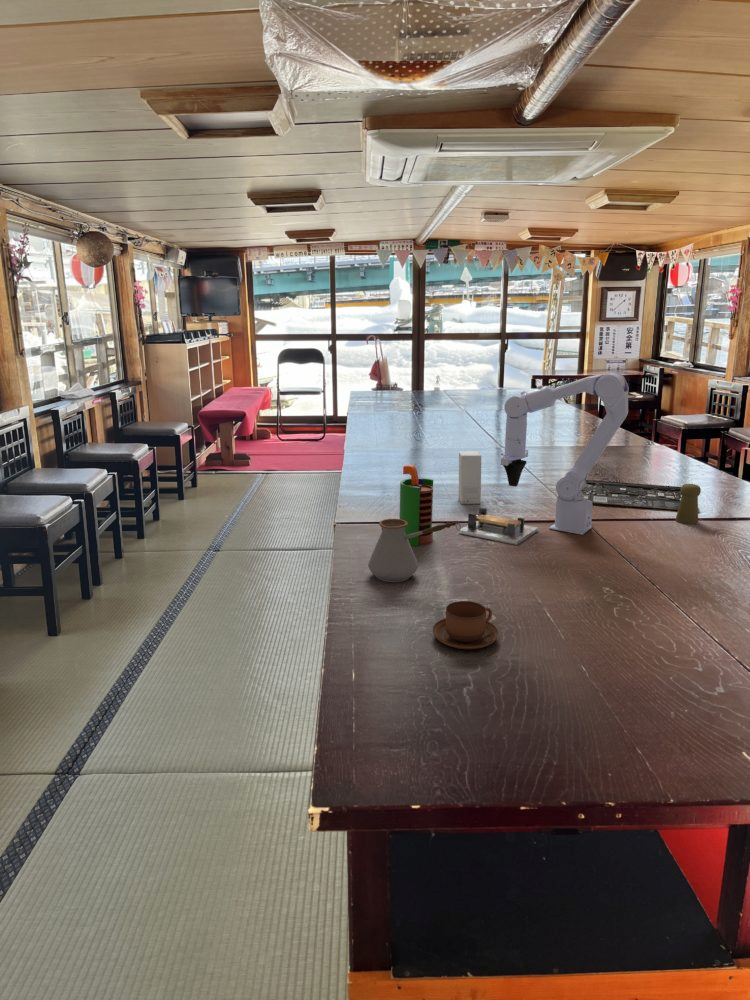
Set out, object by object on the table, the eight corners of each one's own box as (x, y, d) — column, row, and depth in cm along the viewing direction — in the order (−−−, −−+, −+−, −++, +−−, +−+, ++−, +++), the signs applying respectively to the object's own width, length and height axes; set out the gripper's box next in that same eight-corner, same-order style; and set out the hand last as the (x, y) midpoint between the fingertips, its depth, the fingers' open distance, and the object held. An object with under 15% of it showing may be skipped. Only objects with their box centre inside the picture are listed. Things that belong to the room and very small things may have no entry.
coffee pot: (359, 581, 154) (359, 517, 150) (380, 564, 164) (380, 504, 160) (450, 596, 145) (452, 529, 141) (466, 577, 155) (468, 514, 151)
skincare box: (480, 504, 214) (482, 455, 209) (459, 504, 214) (461, 455, 210) (477, 497, 222) (479, 450, 218) (457, 497, 222) (458, 450, 218)
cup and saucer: (455, 619, 135) (456, 590, 133) (509, 637, 127) (511, 607, 126) (419, 642, 126) (420, 611, 124) (476, 662, 118) (477, 630, 117)
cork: (694, 518, 198) (698, 482, 195) (701, 525, 192) (706, 487, 189) (672, 518, 199) (676, 481, 196) (679, 524, 193) (683, 486, 190)
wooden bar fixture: (537, 530, 188) (538, 513, 186) (517, 544, 177) (518, 526, 175) (481, 520, 197) (482, 504, 196) (458, 533, 186) (459, 515, 185)
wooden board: (521, 524, 185) (521, 520, 185) (514, 528, 181) (514, 524, 181) (479, 516, 192) (479, 512, 192) (471, 520, 188) (471, 516, 188)
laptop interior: (576, 505, 214) (577, 499, 213) (581, 483, 239) (582, 478, 239) (699, 517, 203) (700, 511, 202) (690, 493, 228) (691, 487, 228)
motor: (430, 546, 176) (431, 471, 170) (396, 544, 177) (396, 469, 172) (434, 534, 185) (436, 462, 180) (402, 532, 187) (402, 461, 182)
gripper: (513, 433, 199) (510, 478, 202) (491, 441, 187) (489, 488, 191) (536, 435, 195) (533, 481, 198) (515, 443, 183) (512, 492, 187)
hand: (513, 485), depth 194 cm, fingers closed
